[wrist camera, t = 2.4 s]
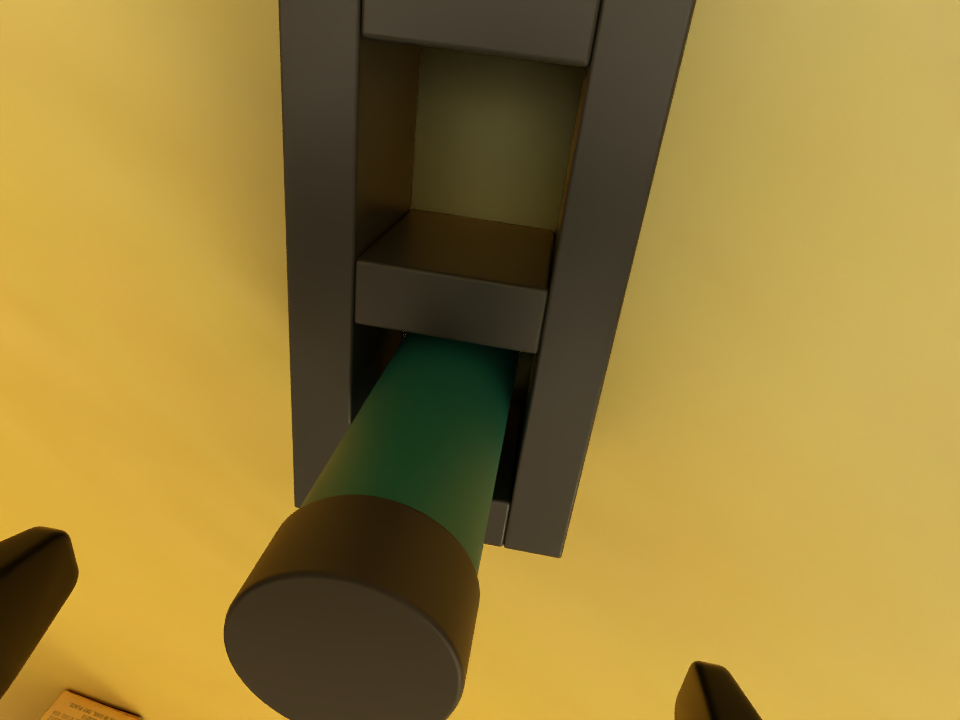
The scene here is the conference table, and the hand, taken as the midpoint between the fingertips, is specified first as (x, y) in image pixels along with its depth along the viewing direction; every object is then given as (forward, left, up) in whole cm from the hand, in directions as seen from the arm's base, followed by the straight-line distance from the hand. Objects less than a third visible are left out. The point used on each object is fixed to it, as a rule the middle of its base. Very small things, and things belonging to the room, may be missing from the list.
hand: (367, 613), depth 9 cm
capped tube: (0, 0, -10) cm, 10 cm away
